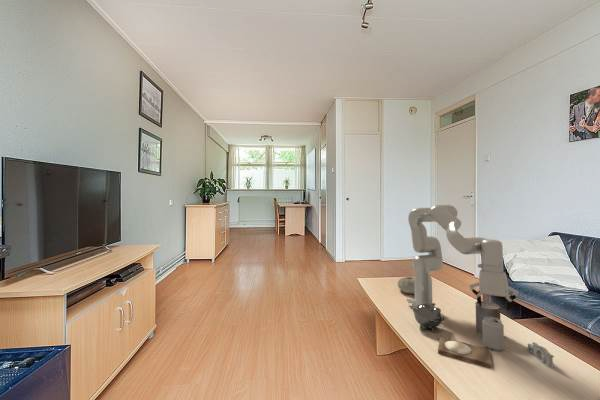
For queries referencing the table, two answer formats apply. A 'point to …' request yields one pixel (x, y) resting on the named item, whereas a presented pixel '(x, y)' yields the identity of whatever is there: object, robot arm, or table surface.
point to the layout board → (464, 351)
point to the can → (493, 333)
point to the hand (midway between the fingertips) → (493, 307)
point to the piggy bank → (428, 315)
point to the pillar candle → (486, 313)
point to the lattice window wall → (538, 352)
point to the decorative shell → (407, 285)
